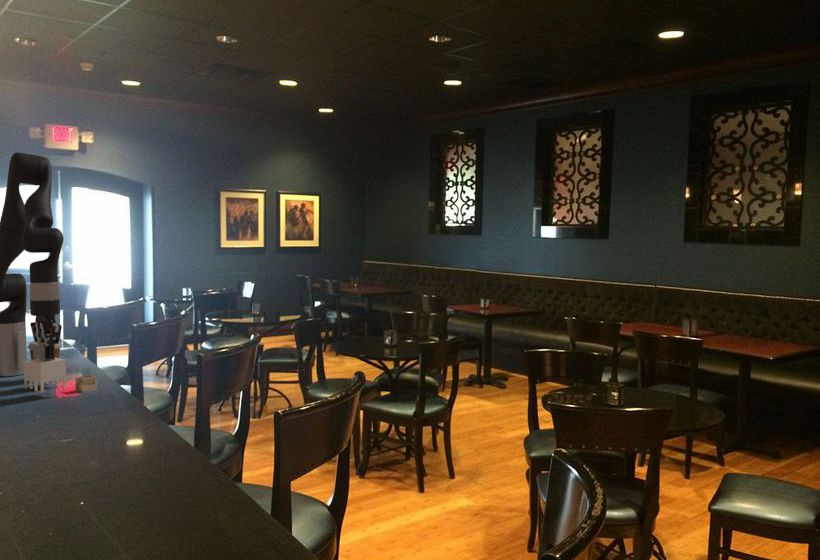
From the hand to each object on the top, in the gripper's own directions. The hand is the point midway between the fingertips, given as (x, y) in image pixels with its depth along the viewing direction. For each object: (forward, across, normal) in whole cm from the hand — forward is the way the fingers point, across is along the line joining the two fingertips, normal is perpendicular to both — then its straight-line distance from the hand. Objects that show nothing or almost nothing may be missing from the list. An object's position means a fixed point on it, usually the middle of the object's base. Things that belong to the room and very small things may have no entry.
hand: (47, 358), depth 196 cm
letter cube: (+11, +2, +10) cm, 15 cm away
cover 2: (+9, 0, 0) cm, 9 cm away
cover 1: (+11, -12, +4) cm, 17 cm away
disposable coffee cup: (+11, -24, +11) cm, 29 cm away
